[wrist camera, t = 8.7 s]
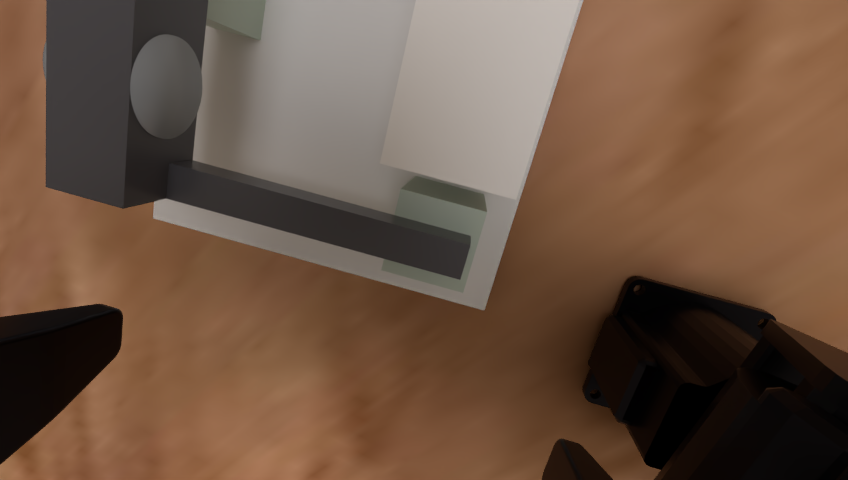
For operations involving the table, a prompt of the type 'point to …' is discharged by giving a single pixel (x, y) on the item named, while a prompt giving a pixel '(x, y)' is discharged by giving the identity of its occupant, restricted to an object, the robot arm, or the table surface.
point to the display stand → (381, 118)
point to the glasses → (183, 134)
